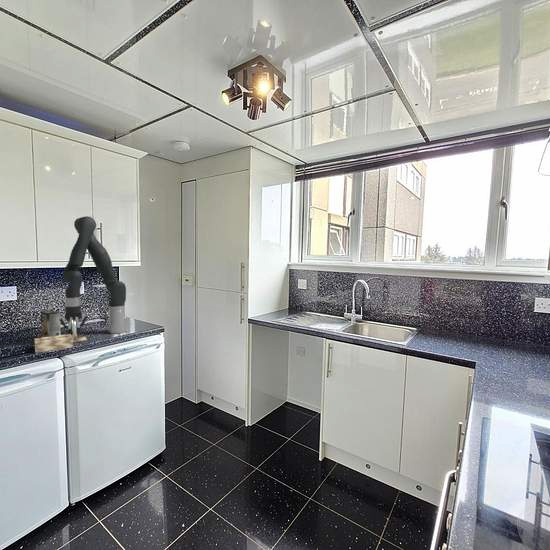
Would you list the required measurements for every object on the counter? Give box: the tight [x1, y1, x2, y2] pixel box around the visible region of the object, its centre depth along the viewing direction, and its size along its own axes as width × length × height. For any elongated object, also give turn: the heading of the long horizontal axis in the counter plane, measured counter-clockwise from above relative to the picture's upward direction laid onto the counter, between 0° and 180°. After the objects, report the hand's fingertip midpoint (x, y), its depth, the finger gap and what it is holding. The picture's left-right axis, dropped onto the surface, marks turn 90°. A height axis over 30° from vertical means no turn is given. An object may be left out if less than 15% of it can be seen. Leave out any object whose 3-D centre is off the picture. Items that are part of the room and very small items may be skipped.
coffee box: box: [40, 309, 62, 338], centre depth 177 cm, size 9×6×16 cm
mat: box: [73, 336, 88, 343], centre depth 176 cm, size 8×7×1 cm
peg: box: [71, 319, 78, 340], centre depth 174 cm, size 3×3×12 cm
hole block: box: [34, 333, 74, 354], centre depth 161 cm, size 16×10×5 cm, turn 130°
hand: (74, 334), depth 174 cm, fingers closed on peg, 3 cm apart
